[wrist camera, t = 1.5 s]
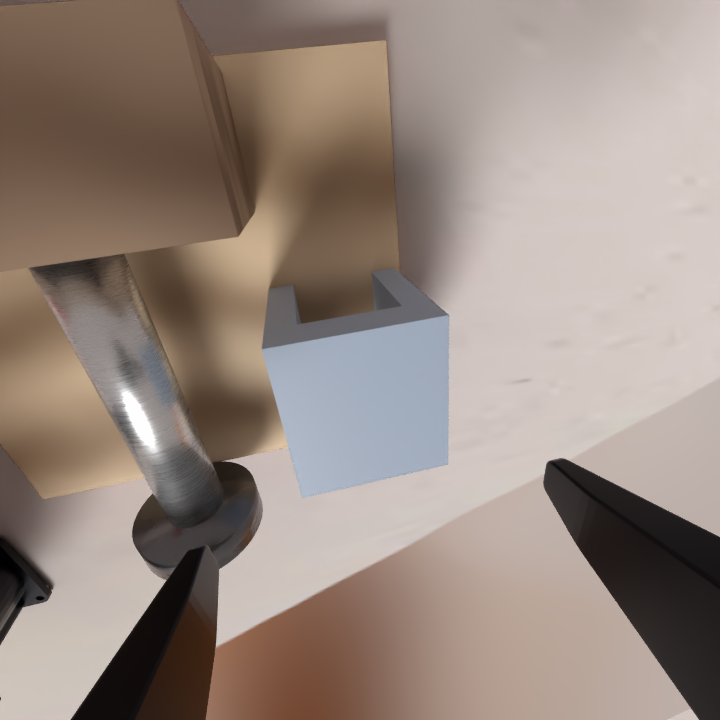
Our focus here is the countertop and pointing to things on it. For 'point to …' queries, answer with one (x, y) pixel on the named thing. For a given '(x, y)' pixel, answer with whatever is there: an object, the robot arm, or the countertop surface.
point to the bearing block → (178, 214)
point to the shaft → (150, 416)
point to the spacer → (361, 386)
